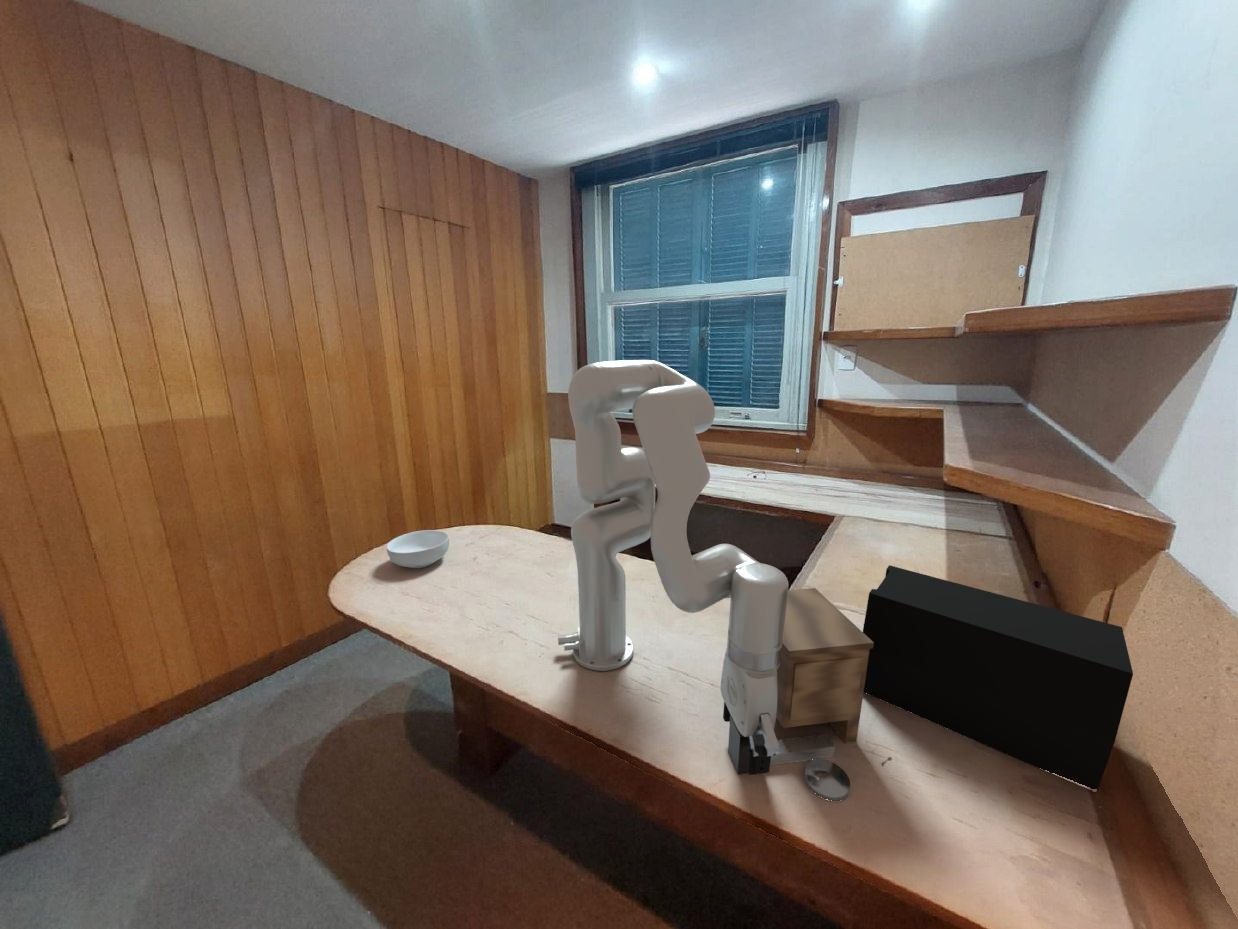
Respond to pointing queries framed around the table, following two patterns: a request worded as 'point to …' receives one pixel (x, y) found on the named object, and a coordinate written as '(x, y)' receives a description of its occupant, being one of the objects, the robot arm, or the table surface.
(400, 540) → the cereal bowl
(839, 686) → the walnut cabinet
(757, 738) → the metal handled mallet
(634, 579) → the table surface
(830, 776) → the steel token
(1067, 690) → the uninterruptible power supply
